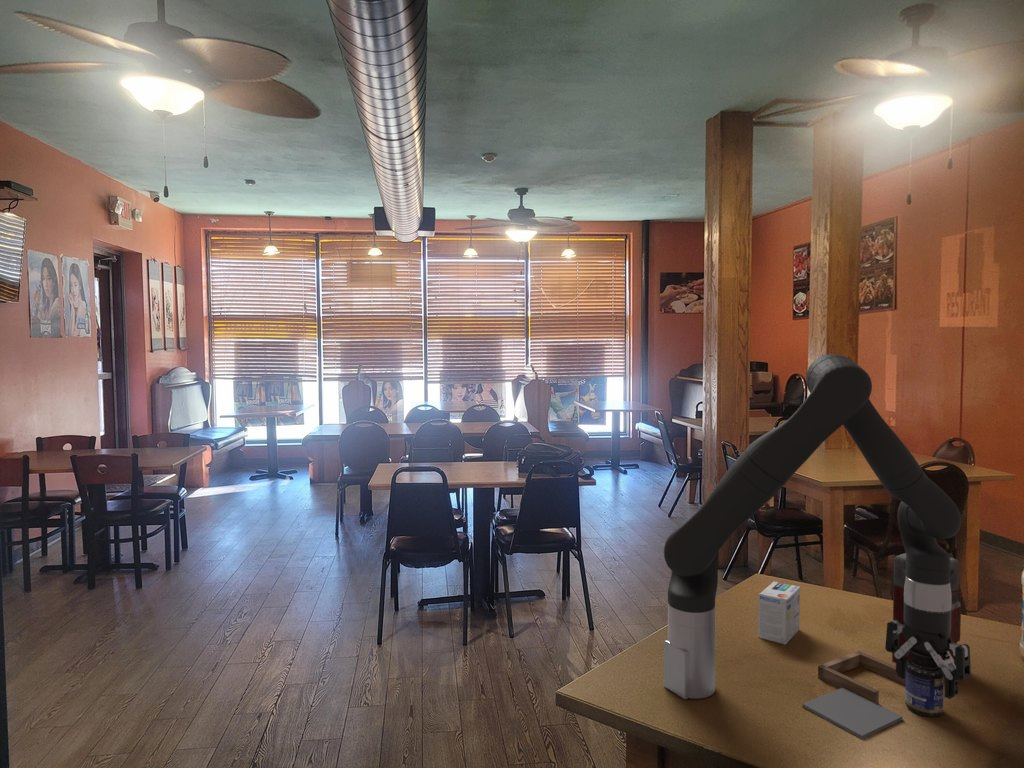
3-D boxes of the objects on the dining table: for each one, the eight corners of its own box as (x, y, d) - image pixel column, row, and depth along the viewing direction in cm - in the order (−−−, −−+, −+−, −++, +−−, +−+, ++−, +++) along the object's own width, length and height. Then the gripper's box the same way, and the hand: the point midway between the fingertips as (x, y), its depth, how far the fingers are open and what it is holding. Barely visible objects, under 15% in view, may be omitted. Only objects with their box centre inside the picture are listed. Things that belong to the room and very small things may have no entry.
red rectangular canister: (946, 682, 135) (950, 547, 133) (891, 660, 144) (893, 533, 143) (969, 671, 139) (972, 539, 138) (913, 650, 149) (916, 527, 147)
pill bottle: (941, 721, 121) (942, 662, 120) (902, 711, 125) (903, 653, 124) (944, 707, 126) (945, 650, 125) (907, 697, 129) (908, 641, 129)
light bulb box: (772, 622, 165) (772, 580, 164) (800, 629, 160) (801, 586, 160) (757, 637, 157) (757, 592, 156) (786, 645, 152) (787, 599, 152)
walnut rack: (874, 705, 127) (874, 692, 127) (817, 677, 137) (818, 665, 137) (915, 686, 133) (915, 674, 133) (858, 662, 144) (858, 650, 144)
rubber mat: (861, 739, 116) (861, 735, 116) (802, 706, 126) (802, 703, 126) (902, 719, 122) (902, 716, 122) (842, 690, 132) (842, 687, 132)
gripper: (980, 611, 119) (978, 698, 120) (901, 586, 132) (900, 666, 133) (956, 620, 116) (955, 710, 117) (878, 594, 128) (877, 676, 129)
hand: (925, 686), depth 125 cm, fingers open, 8 cm apart
